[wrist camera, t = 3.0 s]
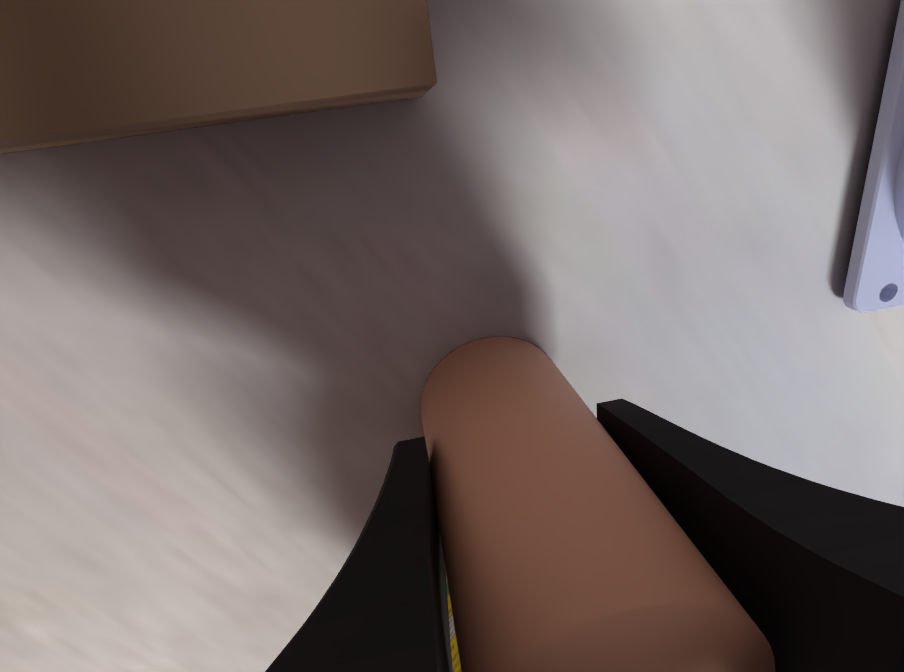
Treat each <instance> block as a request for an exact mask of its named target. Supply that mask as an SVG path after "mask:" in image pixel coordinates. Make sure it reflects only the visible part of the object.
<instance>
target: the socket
mask: <svg viewBox="0 0 904 672" xmlns="http://www.w3.org/2000/svg"><path fill="white" fill-rule="evenodd" d="M436 83H437V80H436V72H435V64H434V56H433V48H432V40H431V32H430V24H429V17H428V9H427V1H426V0H0V154H4V153H11V152H19V151H26V150H33V149H41V148H48V147H55V146H63V145H70V144H77V143H85V142H92V141H99V140H107V139H114V138H121V137H128V136H136V135H143V134H150V133H158V132H165V131H172V130H180V129H187V128H194V127H202V126H209V125H216V124H224V123H231V122H238V121H246V120H253V119H260V118H268V117H275V116H282V115H290V114H297V113H304V112H312V111H319V110H326V109H334V108H341V107H348V106H356V105H363V104H370V103H378V102H385V101H392V100H400V99H407V98H414V97H421V96H422V95H424V94H425V93H426V92H427V91H428V90H429V89H430V88H432V87H433V86H434V85H435V84H436Z"/></svg>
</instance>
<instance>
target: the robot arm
mask: <svg viewBox="0 0 904 672" xmlns="http://www.w3.org/2000/svg"><path fill="white" fill-rule="evenodd" d="M881 290H882V292H881ZM880 292H881V293H880ZM843 302H844V303H845V305H846V306H847V307H848V308H850V309H853V310H855V311H858V312H871V311H876V310H882V309H887V308H892V307H898V306H903V305H904V0H901V3H900V8H899V13H898V18H897V23H896V28H895V33H894V38H893V43H892V49H891V54H890V59H889V64H888V69H887V74H886V79H885V84H884V89H883V95H882V100H881V105H880V110H879V115H878V120H877V125H876V130H875V135H874V141H873V146H872V151H871V156H870V161H869V166H868V171H867V176H866V181H865V187H864V192H863V197H862V202H861V207H860V212H859V217H858V222H857V227H856V233H855V238H854V243H853V248H852V253H851V258H850V263H849V268H848V273H847V279H846V284H845V289H844V294H843ZM597 420H598V421H599V422H600V424H601V425H602V426H603V427H604V429H605V430H606V431H607V433H608V434H609V435H610V436H611V438H612V439H613V440H614V442H615V443H616V444H617V446H618V447H619V448H620V449H621V451H622V452H623V453H624V455H625V456H626V457H627V458H628V460H629V461H630V462H631V464H632V465H633V466H634V468H635V469H636V470H637V471H638V473H639V474H640V475H641V477H642V478H643V479H644V480H645V482H646V483H647V484H648V486H649V487H650V488H651V490H652V491H653V492H654V493H655V495H656V496H657V497H658V499H659V500H660V501H661V502H662V504H663V505H664V506H665V508H666V509H667V510H668V512H669V513H670V514H671V515H672V517H673V518H674V519H675V521H676V522H677V523H678V524H679V526H680V527H681V528H682V530H683V531H684V532H685V533H686V535H687V536H688V537H689V539H690V540H691V541H692V543H693V544H694V545H695V546H696V548H697V549H698V550H699V552H700V553H701V554H702V555H703V557H704V558H705V559H706V561H707V562H708V563H709V565H710V566H711V567H712V568H713V570H714V571H715V572H716V574H717V575H718V576H719V577H720V579H721V580H722V581H723V583H724V584H725V585H726V587H727V588H728V589H729V590H730V592H731V593H732V594H733V596H734V597H735V598H736V599H737V601H738V602H739V603H740V605H741V606H742V607H743V609H744V610H745V611H746V612H747V614H748V615H749V616H750V618H751V619H752V620H753V621H754V623H755V624H756V625H757V627H758V628H759V629H760V631H761V632H762V633H763V634H764V636H765V637H766V639H767V641H768V642H769V644H770V646H771V649H772V652H773V655H774V659H775V672H904V507H901V506H897V505H893V504H889V503H885V502H881V501H877V500H873V499H870V498H866V497H863V496H859V495H856V494H852V493H849V492H845V491H842V490H838V489H835V488H831V487H828V486H825V485H822V484H819V483H816V482H812V481H809V480H806V479H804V478H801V477H798V476H795V475H792V474H789V473H787V472H784V471H781V470H778V469H775V468H772V467H770V466H767V465H765V464H762V463H760V462H757V461H754V460H752V459H750V458H747V457H745V456H743V455H740V454H738V453H736V452H733V451H731V450H728V449H726V448H724V447H722V446H719V445H717V444H715V443H713V442H711V441H708V440H706V439H704V438H702V437H700V436H698V435H696V434H694V433H692V432H689V431H687V430H685V429H683V428H681V427H679V426H677V425H675V424H673V423H671V422H669V421H667V420H665V419H663V418H661V417H659V416H657V415H655V414H653V413H651V412H649V411H647V410H645V409H643V408H641V407H639V406H637V405H635V404H633V403H631V402H628V401H626V400H624V399H618V400H613V401H607V402H602V403H597ZM265 672H453V664H452V654H451V642H450V626H449V611H448V595H447V580H446V570H445V563H444V557H443V550H442V544H441V538H440V531H439V525H438V519H437V512H436V504H435V496H434V488H433V482H432V475H431V469H430V463H429V457H428V452H427V446H426V441H425V437H420V438H415V439H409V440H404V441H399V442H398V443H397V444H396V445H395V446H394V450H393V455H392V459H391V462H390V465H389V469H388V472H387V474H386V477H385V480H384V483H383V485H382V488H381V490H380V493H379V495H378V498H377V500H376V503H375V505H374V507H373V510H372V512H371V514H370V516H369V518H368V520H367V522H366V524H365V526H364V528H363V530H362V532H361V534H360V536H359V538H358V540H357V542H356V544H355V546H354V548H353V549H352V551H351V553H350V555H349V557H348V558H347V560H346V562H345V563H344V565H343V567H342V568H341V570H340V572H339V573H338V575H337V577H336V578H335V580H334V581H333V583H332V584H331V586H330V587H329V589H328V590H327V592H326V593H325V595H324V596H323V597H322V599H321V600H320V602H319V603H318V605H317V606H316V608H315V609H314V611H313V612H312V613H311V615H310V616H309V617H308V619H307V620H306V622H305V623H304V624H303V626H302V627H301V628H300V629H299V631H298V632H297V633H296V634H295V636H294V637H293V638H292V639H291V641H290V642H289V643H288V644H287V645H286V647H285V648H284V649H283V650H282V652H281V653H280V654H279V655H278V657H277V658H276V659H275V660H274V661H273V663H272V664H271V665H270V666H269V668H268V669H267V670H266V671H265Z"/></svg>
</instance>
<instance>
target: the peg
mask: <svg viewBox="0 0 904 672" xmlns="http://www.w3.org/2000/svg"><path fill="white" fill-rule="evenodd" d="M421 417H422V423H423V430H424V436H425V441H426V446H427V452H428V457H429V463H430V469H431V475H432V482H433V488H434V496H435V504H436V512H437V519H438V525H439V531H440V538H441V544H442V550H443V557H444V563H445V570H446V576H447V582H448V589H449V595H450V601H451V608H452V614H453V620H454V627H455V633H456V639H457V646H458V652H459V659H460V665H461V671H462V672H775V659H774V655H773V652H772V649H771V646H770V644H769V642H768V641H767V639H766V637H765V636H764V634H763V633H762V632H761V631H760V629H759V628H758V627H757V625H756V624H755V623H754V621H753V620H752V619H751V618H750V616H749V615H748V614H747V612H746V611H745V610H744V609H743V607H742V606H741V605H740V603H739V602H738V601H737V599H736V598H735V597H734V596H733V594H732V593H731V592H730V590H729V589H728V588H727V587H726V585H725V584H724V583H723V581H722V580H721V579H720V577H719V576H718V575H717V574H716V572H715V571H714V570H713V568H712V567H711V566H710V565H709V563H708V562H707V561H706V559H705V558H704V557H703V555H702V554H701V553H700V552H699V550H698V549H697V548H696V546H695V545H694V544H693V543H692V541H691V540H690V539H689V537H688V536H687V535H686V533H685V532H684V531H683V530H682V528H681V527H680V526H679V524H678V523H677V522H676V521H675V519H674V518H673V517H672V515H671V514H670V513H669V512H668V510H667V509H666V508H665V506H664V505H663V504H662V502H661V501H660V500H659V499H658V497H657V496H656V495H655V493H654V492H653V491H652V490H651V488H650V487H649V486H648V484H647V483H646V482H645V480H644V479H643V478H642V477H641V475H640V474H639V473H638V471H637V470H636V469H635V468H634V466H633V465H632V464H631V462H630V461H629V460H628V458H627V457H626V456H625V455H624V453H623V452H622V451H621V449H620V448H619V447H618V446H617V444H616V443H615V442H614V440H613V439H612V438H611V436H610V435H609V434H608V433H607V431H606V430H605V429H604V427H603V426H602V425H601V424H600V422H599V421H598V420H597V418H596V417H595V416H594V414H593V413H592V412H591V411H590V409H589V408H588V407H587V405H586V404H585V403H584V402H583V400H582V399H581V398H580V396H579V395H578V394H577V392H576V391H575V390H574V389H573V387H572V386H571V385H570V383H569V382H568V381H567V380H566V378H565V377H564V376H563V374H562V373H561V372H560V370H559V369H558V368H557V367H556V365H555V364H554V363H553V361H552V360H551V359H550V358H549V357H548V356H547V355H546V353H544V352H543V351H542V350H541V349H539V348H538V347H536V346H535V345H533V344H531V343H529V342H526V341H524V340H521V339H517V338H512V337H504V336H495V337H486V338H481V339H477V340H474V341H471V342H469V343H466V344H464V345H462V346H460V347H458V348H457V349H455V350H454V351H452V352H451V353H449V354H448V355H447V356H446V357H444V358H443V359H442V360H441V361H440V362H439V363H438V365H437V366H436V367H435V368H434V370H433V371H432V372H431V374H430V375H429V377H428V379H427V381H426V383H425V386H424V389H423V392H422V398H421Z"/></svg>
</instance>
